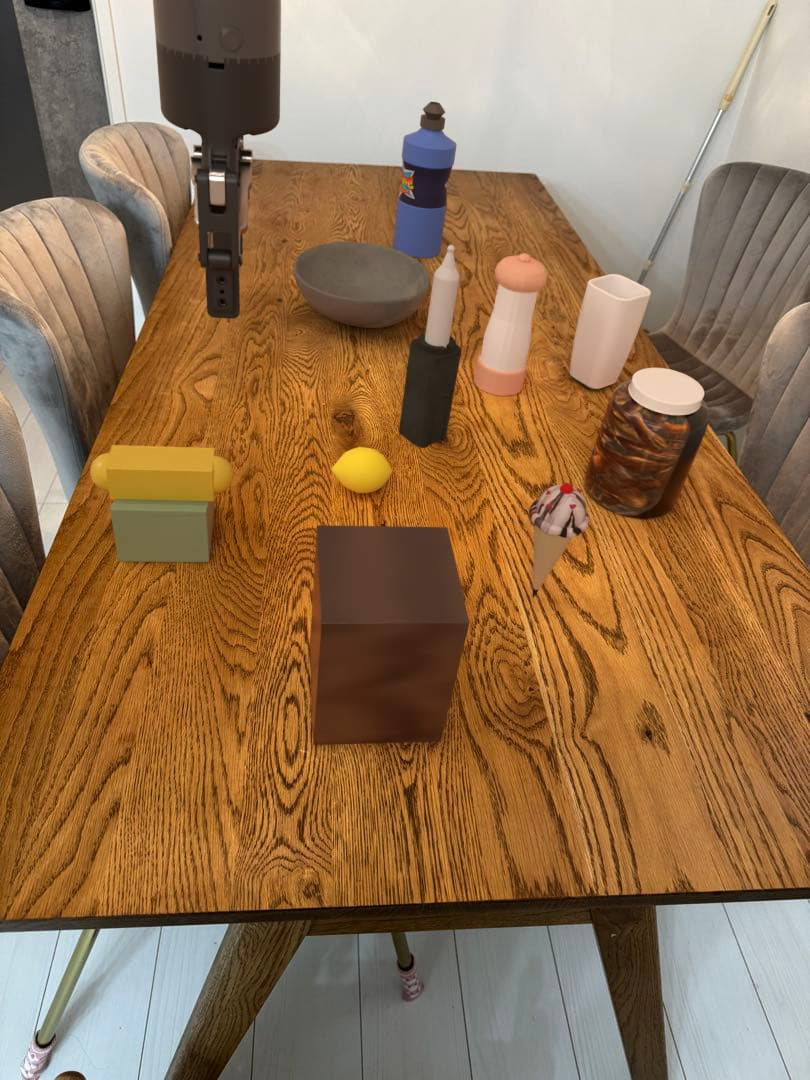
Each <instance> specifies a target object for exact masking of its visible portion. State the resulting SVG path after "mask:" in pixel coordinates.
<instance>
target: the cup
mask: <svg viewBox="0 0 810 1080" xmlns="http://www.w3.org/2000/svg"><path fill="white" fill-rule="evenodd" d="M651 294H652V291H651V290H650V289H649V288H648V287H646V286H644V285H642V284H640V283H638V282H636V281H634V280H633V279H630V278H629V277H627V276H624V275H621V274H617V273H609V274H605V275H602V276H598V277H595V278H591V279H589V280H588V281H587V283H586V289H585V292H584V295H583V299H582V303H581V306H580V311H579V315H578V319H577V324H576V328H575V334H574V338H573V343H572V350H571V355H570V356H571V357H570V365H569V375H570V376H571V377H572V379H574V380H575V381H577V382H578V383H580V384H582V385H583V386H585V387H586V388H588V389H591V390H600V389H603V388H606V387H608V386H611V385H613V384H615V383H616V382H617V381H618V379H619V377H620V375H621V372H622V371H623V369H624V366H625V364H626V363H627V360H628V358H629V355H630V353H631V351H632V348H633V346H634V343H635V340H636V338H637V336H638V333H639V330H640V327H641V325H642V321H643V319H644V316H645V313H646V310H647V306H648V304H649V300H650V298H651Z"/></svg>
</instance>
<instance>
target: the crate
mask: <svg viewBox="0 0 810 1080" xmlns="http://www.w3.org/2000/svg"><path fill="white" fill-rule="evenodd" d="M313 568H314V569H313V582H312V583H313V585H312V600H311V601H312V602H311V617H310V618H311V621H310V639H309V663H310V691H311V692H310V694H311V724H312V726H311V727H312V745H313V746H325V745H326V746H328V745H329V746H330V745H364V744H366V745H367V744H400V743H401V744H403V743H436V742H437V743H438V742H439V743H440V742H442V738H443V734H444V730H445V725H446V722H447V718H448V714H449V710H450V705H451V700H452V697H453V694H454V693H453V692H454V688H455V685H456V681H457V676H458V673H459V669H460V664H461V660H462V656H463V651H464V647H465V644H466V639H467V634H468V632H469V627H470V618H469V613H468V610H467V606H466V602H465V598H464V593H463V588H462V584H461V579H460V576H459V571H458V566H457V563H456V559H455V554H454V549H453V544H452V541H451V537H450V531H449V528H448V526H447V527H446V526H392V525H391V526H387V525H385V526H383V525H331V524H330V525H329V524H328V525H326V524H325V525H324V524H320V525H319V524H318V525H316V533H315V551H314V567H313Z"/></svg>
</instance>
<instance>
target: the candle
mask: <svg viewBox="0 0 810 1080" xmlns="http://www.w3.org/2000/svg"><path fill="white" fill-rule="evenodd" d="M446 250H447V252H446V254H445V256H444V259H443V260H442V263H441V264H440V266H439V267H438V268H437V269H436V270H435V272H434V273H433V279H432V287H431V294H430V301H429V307H428V314H427V321H426V327H425V333H423V332H422V333H420V334H419V335H418V337H417V338H414V339H412V340H411V341H410V343H409V352H408V357H407V366H406V372H405V373H406V374H405V381H404V389H403V395H402V405H401V411H400V420H399V427H398V432H399V434H400V435H401V436H403V437H404V438H405V439H406V440H407V441H409V442H411V443H412V444H413V445H414V446H416V447H419V448H426V447H429V445H432V444H434V443H438V442H439V441H445V439H446V438H447V434H448V429H449V422H450V417H451V411H452V406H453V402H454V401H453V400H454V395H455V390H456V389H455V388H456V384H457V378H458V374H459V373H458V372H459V366H460V361H461V355H462V347H461V346H459V344H457V342H456V340H455V338H454V337H452V335H451V332H452V326H453V320H454V314H455V308H456V303H457V296H458V291H459V286H460V279H461V277H460V274H459V271H458V268H457V266H456V261H455V260H456V259H455V253H454V252H455V251H456V248H455V246H454V245H453V244H449V245H448V246H447V248H446Z"/></svg>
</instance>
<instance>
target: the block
mask: <svg viewBox="0 0 810 1080" xmlns="http://www.w3.org/2000/svg"><path fill="white" fill-rule="evenodd" d="M215 502H216V501H215V500H214V501H171V500H119V499H114V502H113V503H111V504H110V508H109V511H110V519H111V525H112V530H113V537H114V544H115V550H116V557H117V562H119V563H120V562H121V563H123V562H125V563H126V562H127V563H128V562H129V563H131V562H132V563H133V562H134V563H136V562H137V563H210V561H211V560H210V559H211V551H212V540H213V530H214V520H215V508H216V503H215Z"/></svg>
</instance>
